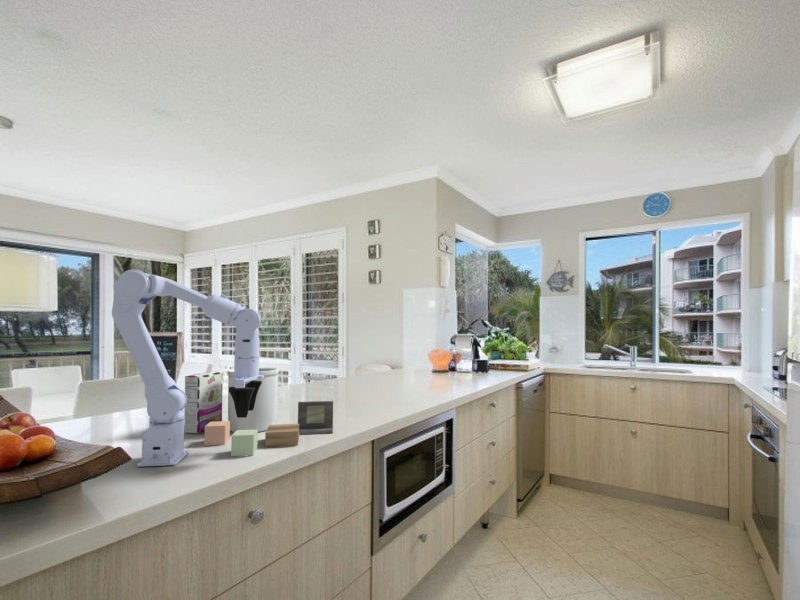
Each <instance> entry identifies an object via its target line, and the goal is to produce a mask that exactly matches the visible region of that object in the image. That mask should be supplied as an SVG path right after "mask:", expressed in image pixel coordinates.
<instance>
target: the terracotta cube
mask: <svg viewBox="0 0 800 600" xmlns="http://www.w3.org/2000/svg"><path fill="white" fill-rule="evenodd" d="M230 435H231V431H230V421H228V420H227V421H226V420H225V421H223V420H222V421H218V422H210V423H208V424H207V425H206V426H205V431H204V439H203V440H204V441H203V443H204V444H203V445H204V446H205V447H207V446H210V445H212V446H225V445H226V444H227V443H228V442H229V441H230V440H229V439H230V438H231V437H230ZM228 440H229V441H228Z"/></svg>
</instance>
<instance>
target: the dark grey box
mask: <svg viewBox="0 0 800 600" xmlns="http://www.w3.org/2000/svg"><path fill="white" fill-rule="evenodd" d="M333 418H334V400H324V401H323V400H321V401H320V400H318V401H317V400H316V401H298V403H297V424H299V435H323V434H325V435H326V434H333V433H334V419H333Z"/></svg>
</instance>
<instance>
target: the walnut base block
mask: <svg viewBox="0 0 800 600" xmlns="http://www.w3.org/2000/svg"><path fill="white" fill-rule="evenodd" d="M264 437H265V438H264V439H265V440H264V442H265V444H264V448H265V447H267V448H278V447H277V446H286V447H296V446H295V445H298V446H299V439H300V434H299V424H298V423H285V424H284V423H282V424H276V425H269V426H268V428H267V430H266V431H265V436H264Z"/></svg>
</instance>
